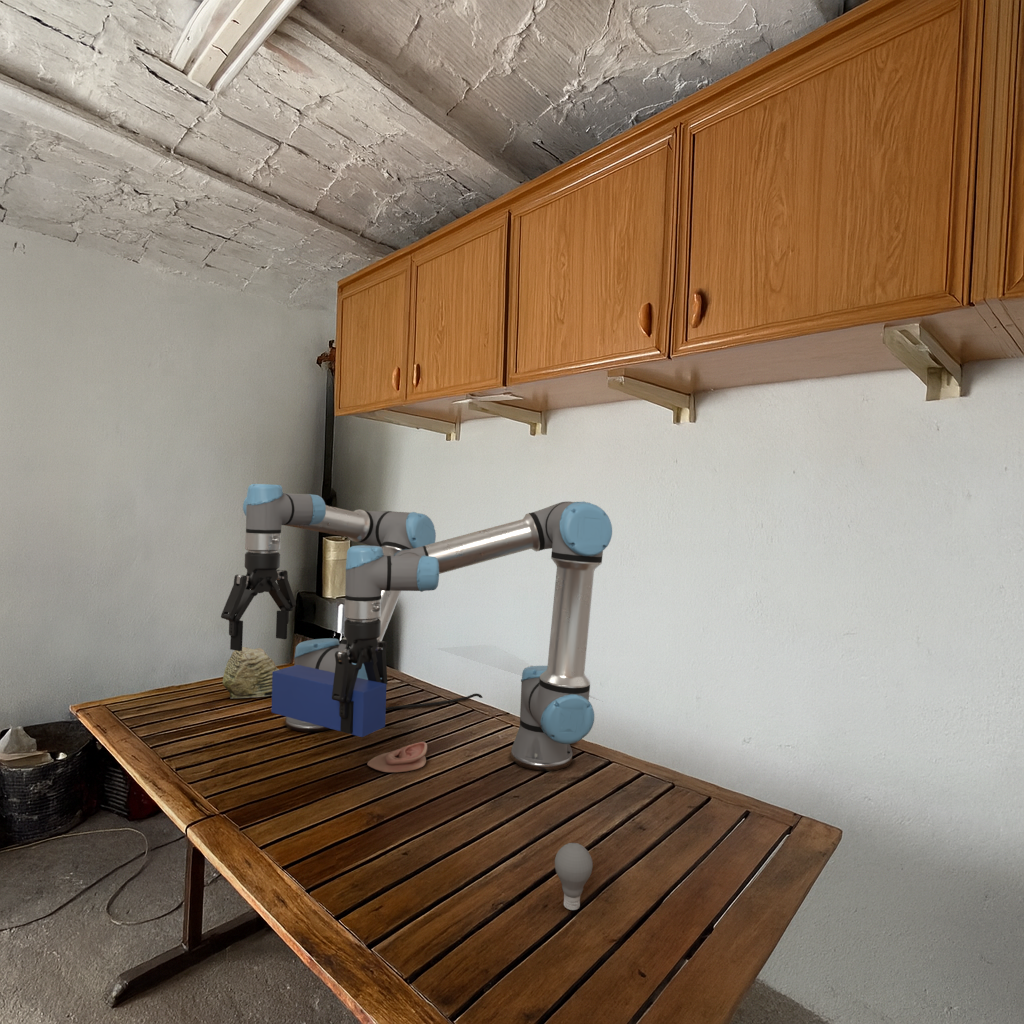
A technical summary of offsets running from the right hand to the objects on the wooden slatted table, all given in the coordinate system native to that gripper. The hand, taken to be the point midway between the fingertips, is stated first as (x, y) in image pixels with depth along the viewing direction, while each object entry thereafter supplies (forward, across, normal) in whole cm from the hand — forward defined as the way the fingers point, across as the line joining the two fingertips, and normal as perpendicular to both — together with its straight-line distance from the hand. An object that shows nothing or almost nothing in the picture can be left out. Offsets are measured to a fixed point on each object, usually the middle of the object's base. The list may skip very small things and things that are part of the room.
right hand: (359, 725), depth 134 cm
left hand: (-14, -3, +28) cm, 31 cm away
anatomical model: (+15, +18, +3) cm, 23 cm away
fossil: (+15, +33, +72) cm, 81 cm away
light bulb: (+15, -10, -54) cm, 57 cm away
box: (+1, 0, +9) cm, 9 cm away
